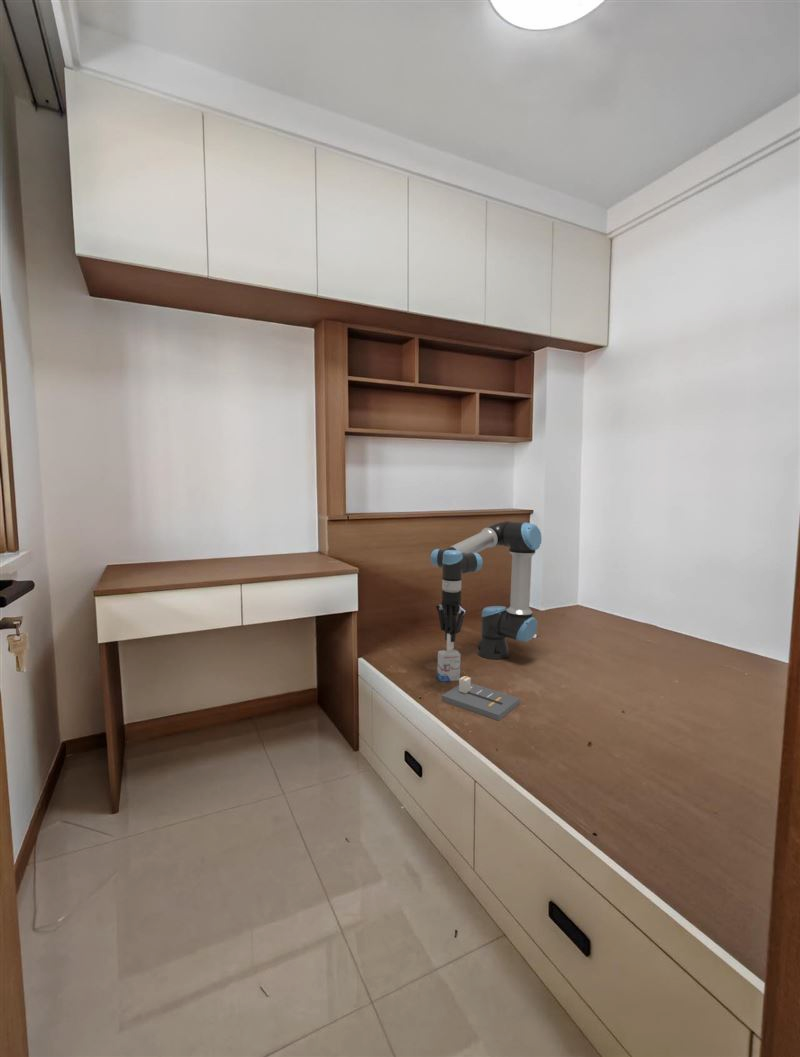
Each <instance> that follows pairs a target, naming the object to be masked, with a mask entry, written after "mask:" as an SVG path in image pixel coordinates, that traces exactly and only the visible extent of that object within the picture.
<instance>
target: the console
mask: <svg viewBox="0 0 800 1057" xmlns="http://www.w3.org/2000/svg"><path fill="white" fill-rule="evenodd" d="M441 701H442V702H445V703H447V704H450V705H453V706H456V707H459V708H462V709H463V710H464V709H465V710H467V711H470V712H473V713H475V714H479V715H482V716H485V717H487V718H490V719H492V720H495V721H498V722H499V721H500V720H501V719H502V718H504V717H505V716H506V715H507V714H509V713H510V712H511V711H512V710H514V709H515V708H517V706H519V705H520V704H521V698H520V697H516V696H514V695H510V694H507V693H504V692H501V691H497V690H494V689H491V688H489V687H485V686H481V685H478V684H476V683H472V682H471V690H470V691H469V692H467V693H466V694H465V693H462V692H459V684H458V685H455V687H453V688H451V689H450V690H448V691H447V692H445V693H443V694H442V695H441Z"/></svg>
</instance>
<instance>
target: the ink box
mask: <svg viewBox="0 0 800 1057" xmlns="http://www.w3.org/2000/svg"><path fill="white" fill-rule="evenodd" d="M461 656H462V655H461V653H460V651H459V650H457V649H452V650H450V651H449V650H447V649H446V650H439V651H437V666H436V668H437V670H436V672H437V674H436V677H437V679H438V680H439V681H440V682H441V683H443V682H444V683H445V682H455V681H459V679H460V678H461V676H460V675H461Z"/></svg>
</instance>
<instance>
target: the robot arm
mask: <svg viewBox="0 0 800 1057" xmlns="http://www.w3.org/2000/svg"><path fill="white" fill-rule="evenodd" d="M541 545H542V533H541V530H540V528H539V527H538V526H537V524H534V523H530V522H524V521H523V522H522V521H521V522H520V521H509V520H508V521H507V520H505V521H499V522H496V523H493V524H490V525H489V526H486V527H484V528H483V529H482V530H481V531H480V532H478V533H477V534H475V535H472V536H470V537H467V538H466V539H464V540H462V541H459V542H457V543H455V544H452V545H451V546H448V547H447V548H444V549H442V548H436V549H434V550H432V552H431V554H430V563H431V564H432V566H434V567H438V568H440V569H441V568H442V574H441V575H442V577H441V578H442V579H441V589H442V590H441V603H440V604H438V605H436V606H435V609H436V610H437V614H438V619H439V626H440V630H441V631H444V633H445V635H444V636H445V638H444V639H445V641H446V650H449V651H450V650H455V648H454V643H455V642H456V634H459V633H460V632H461V631H462V625H463V622H464V618H465V615H466V614H467V609H464V608H462V603H461V601H462V584H463V583H462V580H463V579H462V577H463V576H462V574H468V573H469V574H470V573H474V572H477V571H479V570H481V569H482V567H483V564H484V563H483V558H482V556H481V555H480V552H482V551H483V550H486V549H488V548H494V547H497V546H499V547H500V546H501V547H508V548H509V549H508V552H509V554H511V574H510V576H511V579H510V600H509V603H510V604H509V607H506V606H504V605H492V606H486V607H484V608H483V609H482V612H481V628H480V629H481V631H480V633H481V635H480V636H481V638H480V639H479V643H478V646H477V649H476V651H477V652H476V653H477V655H478V656H480V657H482V658H485V659H489V660H503V659H506V658H508V657H509V655H510V649H509V645H508V643H507V638H508V639H512V640H516V641H518V642H524V643H527V642H529V641H531V640H533V638H534V636H535V635H536V632H537V629H538V621H537V619H536V618H535V617H533V611H532V609H531V608H530V601H531V583H532V582H531V580H532V579H531V578H532V561H533V560H532V558H533V556H534V555H535V554H536V551H537V550H538V549H540V546H541Z"/></svg>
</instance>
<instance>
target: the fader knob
mask: <svg viewBox="0 0 800 1057" xmlns="http://www.w3.org/2000/svg"><path fill="white" fill-rule="evenodd" d="M471 683H472V677H469V675H466V676H465V675H464V676H461V677H460V679H459V680H458V685H459V692H462V693H465V694H466V693H467V692H469V691H470V690H471Z"/></svg>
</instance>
